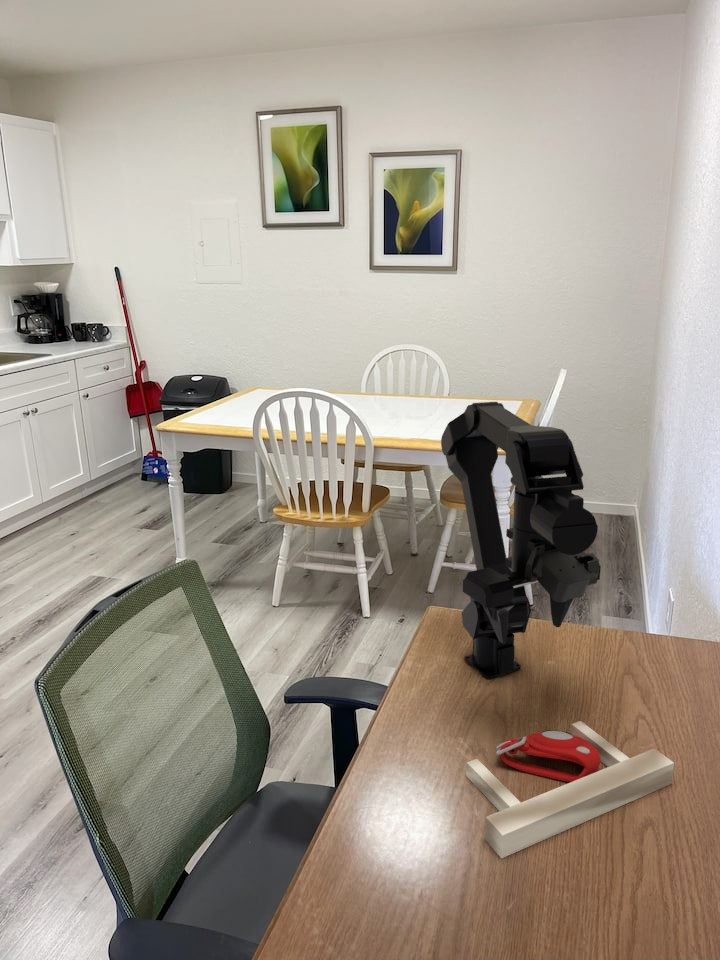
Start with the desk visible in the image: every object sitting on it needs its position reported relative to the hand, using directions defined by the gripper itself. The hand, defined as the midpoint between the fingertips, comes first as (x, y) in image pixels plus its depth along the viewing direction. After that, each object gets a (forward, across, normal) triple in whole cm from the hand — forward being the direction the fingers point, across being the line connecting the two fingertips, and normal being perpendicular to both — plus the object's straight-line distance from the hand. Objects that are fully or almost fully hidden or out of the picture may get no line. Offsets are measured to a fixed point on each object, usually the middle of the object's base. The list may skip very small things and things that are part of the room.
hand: (529, 633), depth 100 cm
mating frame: (+12, -7, -14) cm, 19 cm away
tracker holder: (+13, -4, -9) cm, 16 cm away
